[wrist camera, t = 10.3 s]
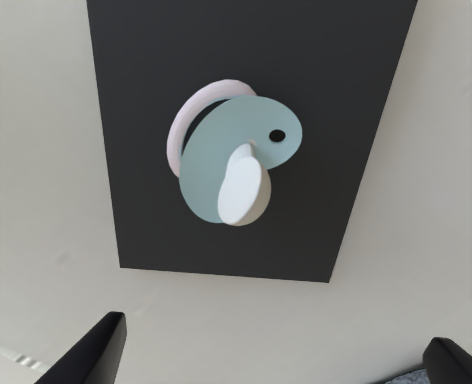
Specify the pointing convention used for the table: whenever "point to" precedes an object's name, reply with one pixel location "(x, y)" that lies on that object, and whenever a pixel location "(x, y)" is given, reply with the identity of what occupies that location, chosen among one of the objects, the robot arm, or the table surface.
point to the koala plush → (411, 378)
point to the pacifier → (230, 151)
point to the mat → (230, 68)
